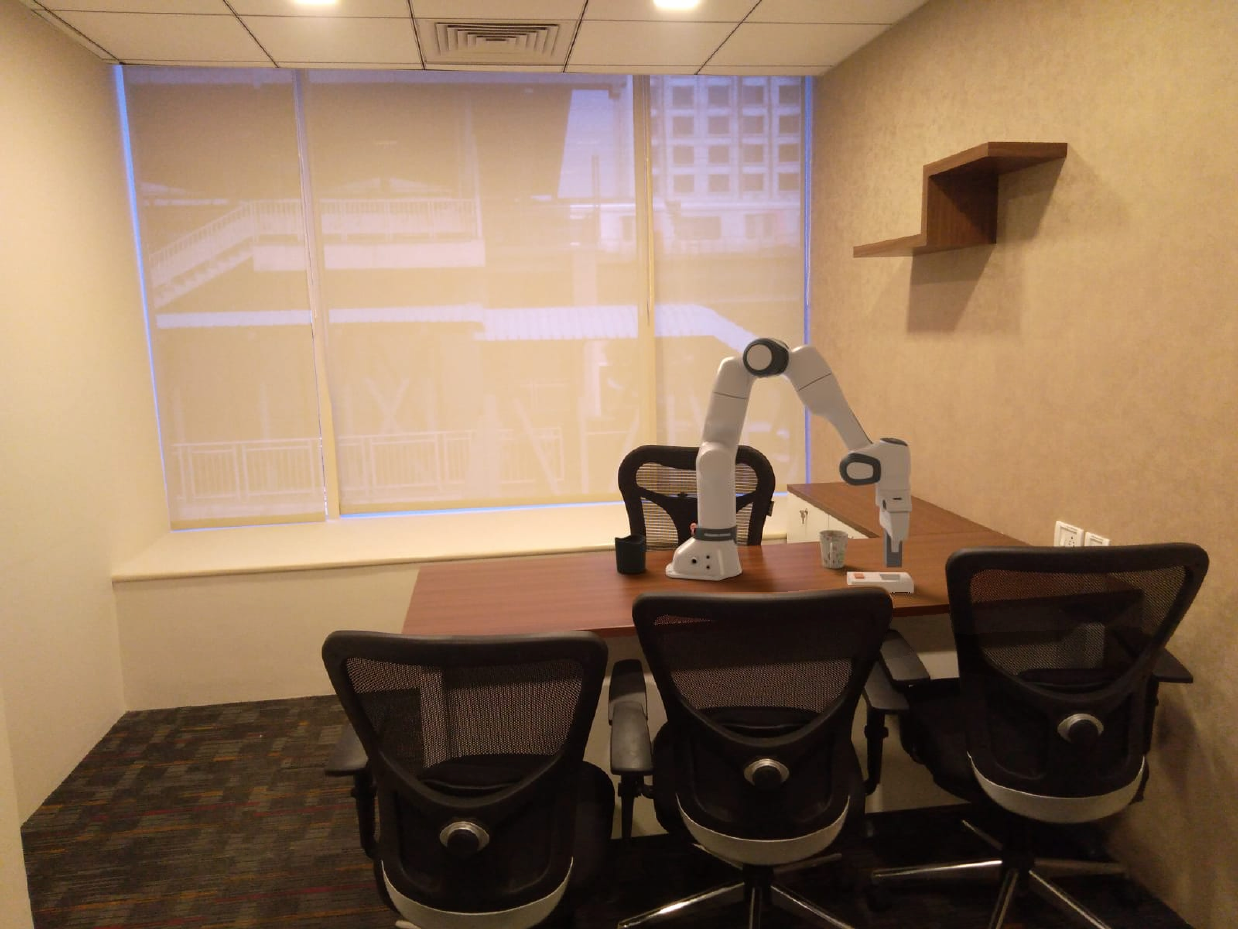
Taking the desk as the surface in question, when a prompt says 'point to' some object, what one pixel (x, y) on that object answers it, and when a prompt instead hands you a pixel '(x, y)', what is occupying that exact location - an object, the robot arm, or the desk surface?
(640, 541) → the pen holder
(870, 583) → the power strip
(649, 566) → the desk surface
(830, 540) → the mug
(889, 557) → the plug
